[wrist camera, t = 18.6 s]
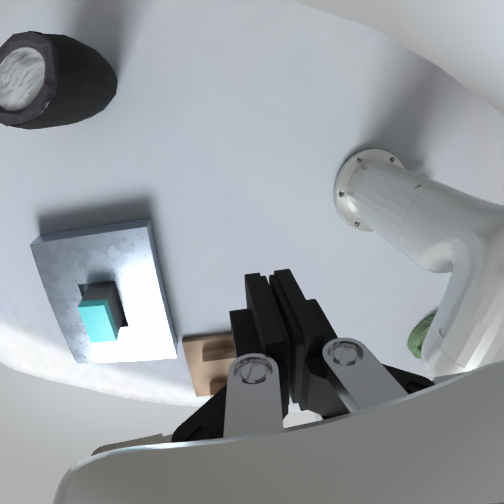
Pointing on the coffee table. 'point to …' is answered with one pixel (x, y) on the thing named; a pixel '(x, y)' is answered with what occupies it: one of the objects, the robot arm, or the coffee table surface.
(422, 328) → the decorative artifact
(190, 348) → the brown holder base
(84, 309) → the plug
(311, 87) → the coffee table surface
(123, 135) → the coffee table surface
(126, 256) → the port
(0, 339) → the coffee table surface
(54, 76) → the portable speaker
